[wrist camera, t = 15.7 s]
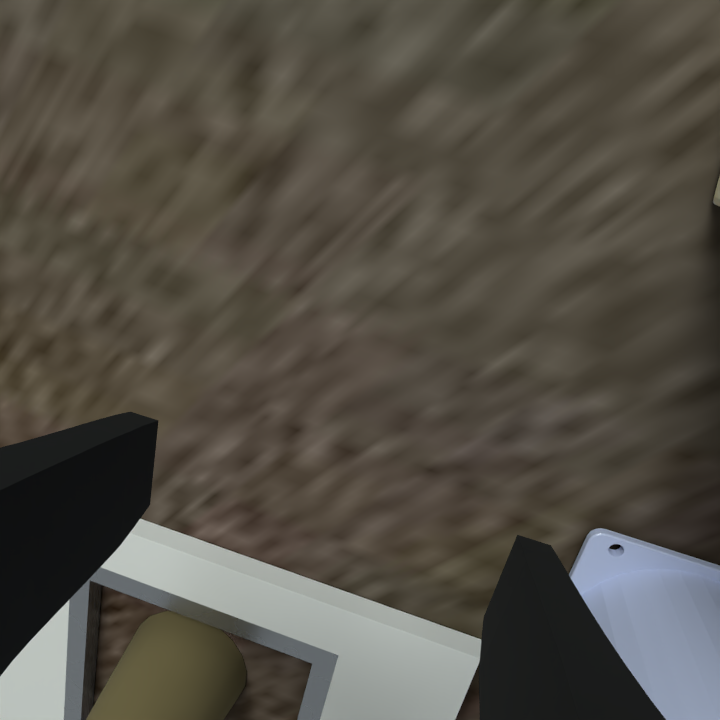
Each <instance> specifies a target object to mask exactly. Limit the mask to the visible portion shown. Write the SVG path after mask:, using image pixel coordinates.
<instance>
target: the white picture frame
mask: <svg viewBox="0 0 720 720" xmlns="http://www.w3.org/2000/svg"><path fill="white" fill-rule="evenodd" d="M102 585H104V586H106V587H109V588H112V589H114V590H117V591H120V592H122V593H125V594H128V595H130V596H133V597H136V598H138V599H141V600H144V601H146V602H149V603H152V604H154V605H157V606H160V607H162V608H165V609H168V610H170V611H173V612H176V613H178V614H181V615H184V616H186V617H189V618H192V619H194V620H197V621H200V622H202V623H205V624H208V625H210V626H213V627H216V628H218V629H221V630H224V631H226V632H229V633H232V634H234V635H237V636H240V637H242V638H245V639H248V640H250V641H253V642H256V643H258V644H261V645H264V646H266V647H269V648H272V649H274V650H277V651H280V652H282V653H285V654H288V655H291V656H293V657H296V658H299V659H301V660H304V661H307V662H309V663H312V667H311V671H310V675H309V678H308V682H307V686H306V689H305V693H304V697H303V701H302V704H301V708H300V712H299V715H298V719H297V720H455V719H456V717H457V714H458V712H459V710H460V707H461V705H462V702H463V700H464V698H465V695H466V693H467V690H468V688H469V686H470V683H471V681H472V679H473V676H474V674H475V671H476V669H477V667H478V664H479V662H480V651H481V639H478V638H476V637H473V636H470V635H467V634H464V633H461V632H459V631H456V630H453V629H450V628H447V627H445V626H442V625H439V624H436V623H433V622H430V621H428V620H425V619H422V618H419V617H416V616H413V615H411V614H408V613H405V612H402V611H399V610H397V609H394V608H391V607H388V606H385V605H382V604H380V603H377V602H374V601H371V600H368V599H365V598H363V597H360V596H357V595H354V594H351V593H349V592H346V591H343V590H340V589H337V588H334V587H332V586H329V585H326V584H323V583H320V582H317V581H315V580H312V579H309V578H306V577H303V576H301V575H298V574H295V573H292V572H289V571H286V570H284V569H281V568H278V567H275V566H272V565H270V564H267V563H264V562H261V561H258V560H255V559H253V558H250V557H247V556H244V555H241V554H238V553H236V552H233V551H230V550H227V549H224V548H222V547H219V546H216V545H213V544H210V543H207V542H205V541H202V540H199V539H196V538H193V537H190V536H188V535H185V534H182V533H179V532H176V531H174V530H171V529H168V528H165V527H162V526H159V525H157V524H154V523H151V522H148V521H145V520H142V519H139V521H138V522H137V524H136V525H135V527H134V528H133V529H132V531H131V532H130V533H129V535H128V536H127V537H126V539H125V540H124V541H123V543H122V544H121V545H120V546H119V547H118V549H117V550H116V551H115V552H114V553H113V554H112V555H111V556H110V557H109V558H108V559H107V561H106V562H105V563H104V564H103V565H102V566H101V567H100V568H99V569H98V570H97V571H96V572H95V573H94V574H93V575H92V576H91V578H90V579H89V580H88V581H87V582H86V583H85V584H84V585H83V586H82V587H81V588H80V589H79V590H78V591H77V592H76V593H75V594H74V595H73V596H72V597H71V598H70V600H69V601H68V602H67V603H66V604H65V605H64V606H63V607H62V608H61V609H60V610H59V611H58V612H57V613H56V614H55V615H54V616H53V617H52V618H51V619H50V620H49V622H48V623H47V624H46V625H45V626H44V627H43V628H42V629H41V630H40V631H39V632H38V633H37V634H36V635H35V636H34V637H33V638H32V639H31V641H30V642H29V643H28V644H27V645H26V646H25V647H24V649H23V650H22V651H21V652H20V653H19V654H18V655H17V656H16V658H15V659H14V660H13V661H12V662H11V663H10V665H9V666H8V667H7V669H6V670H5V671H4V672H3V674H2V675H1V676H0V720H86V719H87V717H88V715H89V713H90V712H91V710H92V708H93V700H94V687H95V673H96V660H97V646H98V632H99V619H100V605H101V592H102Z"/></svg>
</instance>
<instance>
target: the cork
mask: <svg viewBox="0 0 720 720" xmlns="http://www.w3.org/2000/svg"><path fill="white" fill-rule="evenodd" d="M246 673H247V671H246V667H245V664H244V660H243V657H242V655H241V653H240V652H239V650H238V648H237V647H236V645H235V644H234V642H233V641H232V640H231V639H230V638H229V637H228V636H227V635H226V634H225V633H224V632H223V631H222V630H221V629H218V628H216V627H213V626H210V625H208V624H205V623H202V622H200V621H197V620H194V619H192V618H189V617H186V616H184V615H181V614H178V613H176V612H173V611H164V612H161V613H158V614H155V615H152V616H150V617H149V618H148V619H146V620H145V621H144V622H143V623H142V624H141V625H140V626H139V628H138V630H137V631H136V633H135V635H134V637H133V638H132V640H131V642H130V644H129V645H128V647H127V649H126V651H125V652H124V654H123V656H122V658H121V659H120V661H119V663H118V665H117V666H116V668H115V670H114V672H113V673H112V675H111V677H110V679H109V680H108V682H107V684H106V685H105V687H104V689H103V691H102V692H101V694H100V696H99V698H98V699H97V701H96V703H95V705H94V706H93V708H92V710H91V712H90V713H89V715H88V717H87V719H86V720H224V718H225V717H226V715H227V714H228V712H229V711H230V709H231V708H232V706H233V705H234V703H235V702H236V700H237V699H238V697H239V696H240V694H241V692H242V690H243V689H244V687H245V684H246Z"/></svg>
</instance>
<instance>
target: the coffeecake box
mask: <svg viewBox="0 0 720 720" xmlns="http://www.w3.org/2000/svg"><path fill="white" fill-rule="evenodd" d="M713 203H714V204H715V205H717V206H720V176H719V180H718V184H717V187H716V191H715V195H714V200H713Z"/></svg>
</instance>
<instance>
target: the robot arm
mask: <svg viewBox="0 0 720 720" xmlns="http://www.w3.org/2000/svg"><path fill="white" fill-rule="evenodd" d="M157 428H158V420H155V419H152V418H148V417H145V416H142V415H139V414H136V413H133V412H127V413H122V414H118V415H114V416H110V417H106V418H103V419H99V420H96V421H92V422H89V423H85V424H82V425H79V426H75V427H72V428H69V429H65V430H62V431H58V432H55V433H52V434H48V435H45V436H41V437H38V438H34V439H31V440H28V441H24V442H20V443H17V444H13V445H9V446H5V447H1V448H0V676H1V675H2V674H3V672H4V671H5V670H6V669H7V667H8V666H9V665H10V663H11V662H12V661H13V660H14V659H15V658H16V656H17V655H18V654H19V653H20V652H21V651H22V650H23V649H24V647H25V646H26V645H27V644H28V643H29V642H30V641H31V639H32V638H33V637H34V636H35V635H36V634H37V633H38V632H39V631H40V630H41V629H42V628H43V627H44V626H45V625H46V624H47V623H48V622H49V620H50V619H51V618H52V617H53V616H54V615H55V614H56V613H57V612H58V611H59V610H60V609H61V608H62V607H63V606H64V605H65V604H66V603H67V602H68V601H69V600H70V598H71V597H72V596H73V595H74V594H75V593H76V592H77V591H78V590H79V589H80V588H81V587H82V586H83V585H84V584H85V583H86V582H87V581H88V580H89V579H90V578H91V576H92V575H93V574H94V573H95V572H96V571H97V570H98V569H99V568H100V567H101V566H102V565H103V564H104V563H105V562H106V561H107V559H108V558H109V557H110V556H111V555H112V554H113V553H114V552H115V551H116V550H117V549H118V547H119V546H120V545H121V544H122V543H123V541H124V540H125V539H126V537H127V536H128V535H129V533H130V532H131V531H132V529H133V528H134V527H135V525H136V524H137V522H138V521H139V519H140V518H141V517H142V515H143V514H144V512H145V511H146V509H147V508H148V507H149V505H150V498H151V488H152V478H153V468H154V458H155V448H156V438H157ZM613 544H619V545H621V547H620V548H619V549H616V550H614V549H610V548H609V547H610V546H611V545H613ZM479 699H480V720H720V565H717V564H713V563H710V562H707V561H704V560H701V559H698V558H695V557H692V556H688V555H685V554H682V553H679V552H676V551H673V550H670V549H667V548H663V547H660V546H657V545H654V544H651V543H648V542H645V541H642V540H638V539H635V538H632V537H629V536H626V535H623V534H620V533H616V532H613V531H610V530H607V529H602V528H598V529H594V530H592V531H590V532H589V534H588V535H587V537H586V539H585V541H584V543H583V545H582V547H581V549H580V552H579V554H578V556H577V558H576V560H575V562H574V565H573V567H572V569H571V571H570V573H569V575H568V573H567V571H566V570H565V568H564V566H563V565H562V563H561V561H560V560H559V558H558V556H557V555H556V553H555V551H554V550H553V548H552V547H551V545H548V544H544V543H541V542H538V541H535V540H532V539H529V538H526V537H522V536H519V535H517V537H516V540H515V542H514V545H513V547H512V550H511V552H510V555H509V557H508V559H507V562H506V564H505V567H504V569H503V572H502V574H501V576H500V579H499V581H498V584H497V586H496V589H495V591H494V594H493V596H492V598H491V601H490V603H489V606H488V608H487V611H486V613H485V615H484V620H483V630H482V640H481V651H480V663H479Z"/></svg>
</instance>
